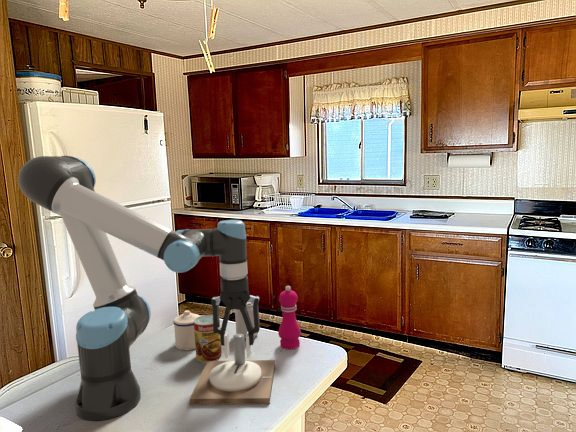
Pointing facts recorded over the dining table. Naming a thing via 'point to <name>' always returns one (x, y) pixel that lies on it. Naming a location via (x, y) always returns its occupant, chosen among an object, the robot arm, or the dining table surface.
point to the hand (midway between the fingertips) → (238, 355)
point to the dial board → (253, 395)
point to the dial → (236, 370)
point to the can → (240, 321)
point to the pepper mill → (289, 320)
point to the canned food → (206, 339)
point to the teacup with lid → (185, 330)
